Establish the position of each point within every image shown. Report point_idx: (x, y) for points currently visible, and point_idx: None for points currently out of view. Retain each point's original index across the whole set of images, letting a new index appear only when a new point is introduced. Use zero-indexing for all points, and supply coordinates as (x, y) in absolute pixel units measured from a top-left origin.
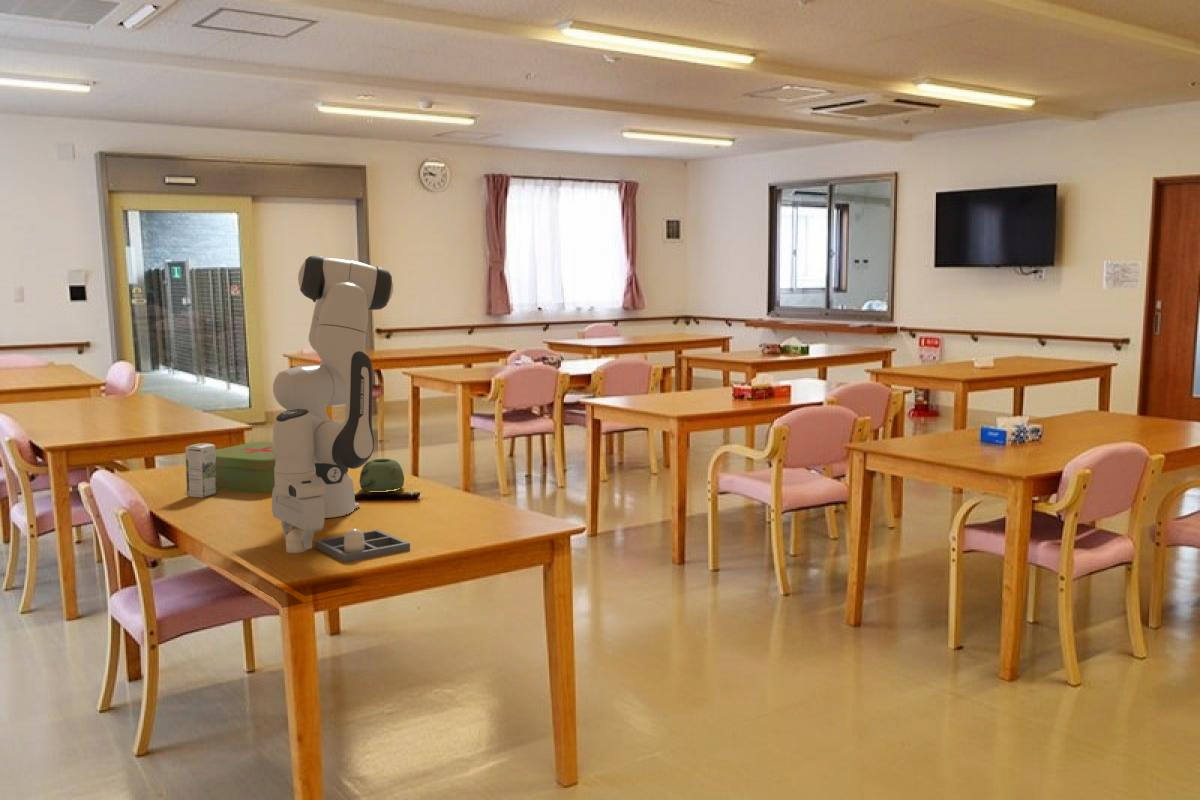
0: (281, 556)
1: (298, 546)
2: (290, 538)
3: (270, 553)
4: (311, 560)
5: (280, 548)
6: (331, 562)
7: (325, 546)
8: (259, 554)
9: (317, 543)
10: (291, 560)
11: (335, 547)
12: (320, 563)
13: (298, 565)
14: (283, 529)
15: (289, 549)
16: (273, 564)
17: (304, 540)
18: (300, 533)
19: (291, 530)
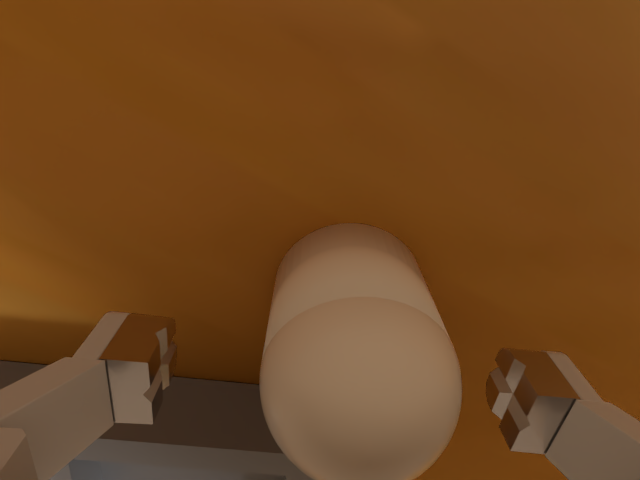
0: (397, 194)
1: (269, 321)
2: (319, 331)
3: (549, 179)
4: (132, 284)
5: (588, 294)
6: (4, 340)
7: (123, 436)
8: (615, 96)
9: (270, 442)
10: (231, 190)
11: None
12: (17, 287)
13: (50, 154)
14: (631, 425)
15: (327, 257)
16: (217, 8)
17: (47, 366)
18: (285, 446)
19: (405, 434)
